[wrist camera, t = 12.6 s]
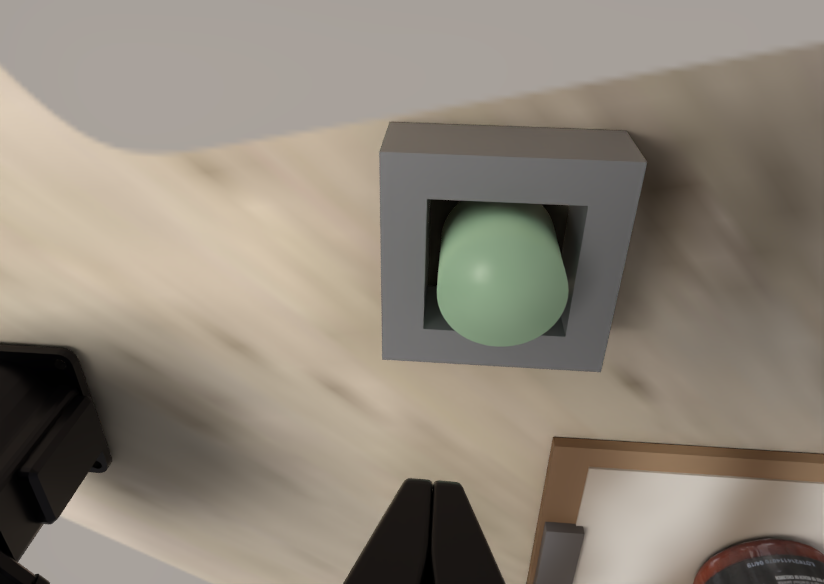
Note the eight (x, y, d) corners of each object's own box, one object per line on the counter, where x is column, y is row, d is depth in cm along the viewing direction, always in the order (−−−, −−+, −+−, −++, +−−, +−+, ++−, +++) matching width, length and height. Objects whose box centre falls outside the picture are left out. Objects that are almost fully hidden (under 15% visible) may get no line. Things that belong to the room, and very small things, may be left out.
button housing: (390, 314, 23) (382, 359, 21) (389, 121, 19) (379, 151, 17) (587, 325, 22) (600, 372, 20) (625, 130, 19) (647, 162, 17)
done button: (438, 286, 21) (434, 343, 19) (443, 185, 19) (439, 232, 17) (547, 291, 21) (558, 350, 18) (562, 190, 19) (577, 239, 16)
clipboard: (517, 633, 33) (518, 652, 32) (552, 437, 25) (556, 455, 25) (796, 656, 32) (805, 676, 31) (918, 460, 25) (933, 480, 24)
